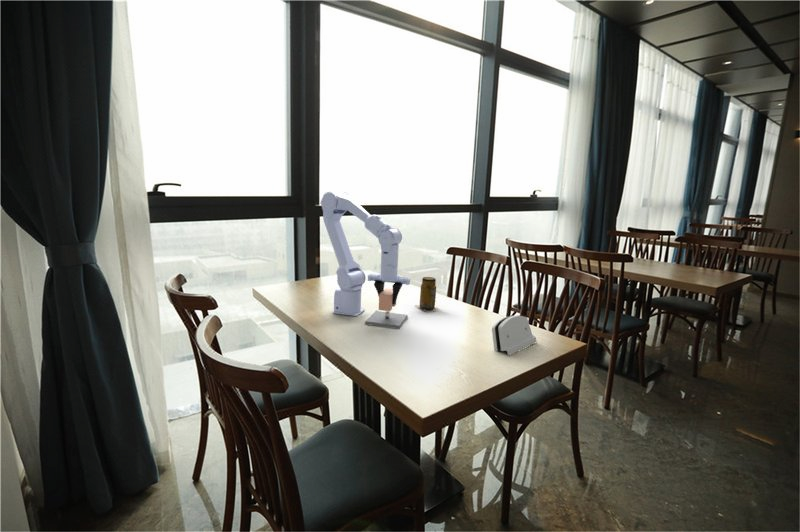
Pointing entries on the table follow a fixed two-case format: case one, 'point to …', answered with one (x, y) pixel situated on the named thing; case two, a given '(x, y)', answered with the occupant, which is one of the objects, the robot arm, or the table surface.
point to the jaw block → (386, 300)
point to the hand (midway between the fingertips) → (387, 302)
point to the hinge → (512, 334)
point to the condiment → (428, 295)
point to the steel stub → (387, 314)
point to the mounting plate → (380, 320)
